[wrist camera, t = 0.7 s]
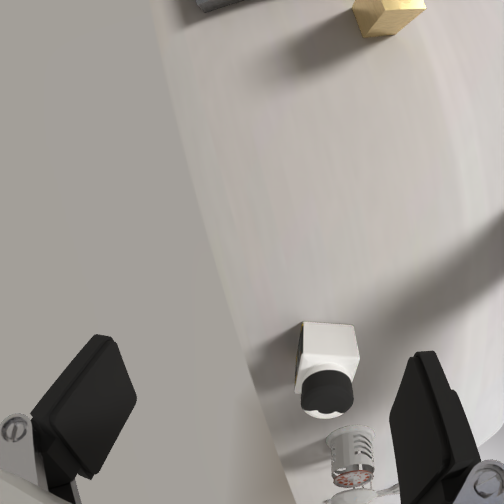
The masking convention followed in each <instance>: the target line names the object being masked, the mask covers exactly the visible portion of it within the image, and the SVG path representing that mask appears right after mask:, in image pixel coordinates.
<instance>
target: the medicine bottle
mask: <svg viewBox="0 0 504 504" xmlns="http://www.w3.org/2000/svg"><path fill="white" fill-rule="evenodd" d="M359 360H360V356H359V351H358V346H357V341H356V336H355V331H354V327H353V325H345V324H331V323H318V322H307V321H304V322H303V323H302V326H301V333H300V339H299V345H298V351H297V357H296V371H295V389H294V391H295V393H296V394H301V407H302V409H303V410H304V411H305V412H306V413H307V414H309V415H310V416H312V417H315V418H320V419H329V418H334V417H338V416H340V415H342V414H344V413H345V412H346V411H347V410H348V409H349V408H350V407H351V406H352V404H353V400H354V398H353V390H352V381H353V378H354V375H355V373H356V370H357V367H358V364H359Z"/></svg>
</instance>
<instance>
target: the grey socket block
mask: <svg viewBox="0 0 504 504" xmlns="http://www.w3.org/2000/svg"><path fill="white" fill-rule="evenodd" d="M239 1H243V0H196V3H197V5H198V6H199V7H200V8H201V9H202V10H203V11H204V12H205V13H206V12H209V11H212V10H215V9H218V8H221V7H224V6H227V5H230V4H233V3H236V2H239Z"/></svg>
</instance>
